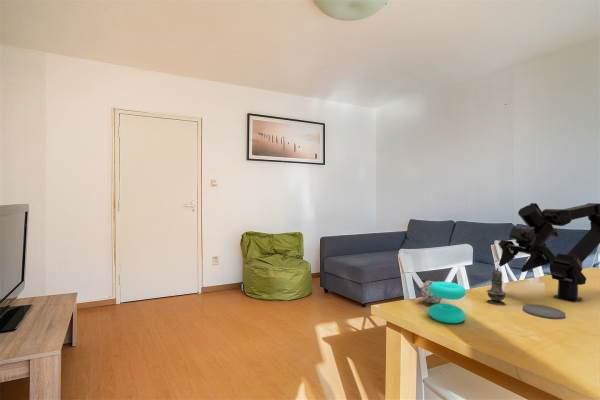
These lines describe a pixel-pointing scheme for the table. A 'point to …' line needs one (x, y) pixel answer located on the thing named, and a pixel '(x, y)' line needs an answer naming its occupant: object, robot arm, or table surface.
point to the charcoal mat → (544, 311)
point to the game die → (428, 293)
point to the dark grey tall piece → (496, 289)
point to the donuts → (447, 311)
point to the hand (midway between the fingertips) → (510, 268)
